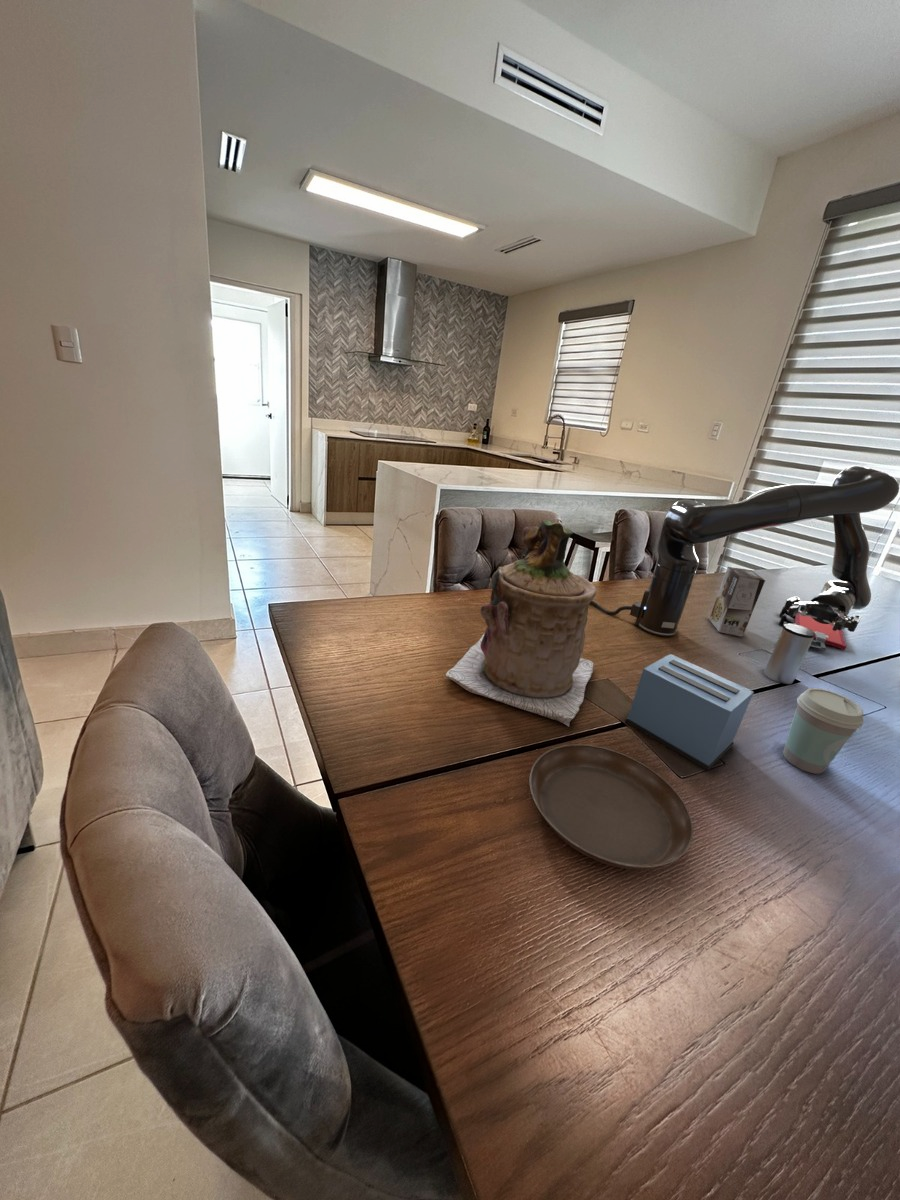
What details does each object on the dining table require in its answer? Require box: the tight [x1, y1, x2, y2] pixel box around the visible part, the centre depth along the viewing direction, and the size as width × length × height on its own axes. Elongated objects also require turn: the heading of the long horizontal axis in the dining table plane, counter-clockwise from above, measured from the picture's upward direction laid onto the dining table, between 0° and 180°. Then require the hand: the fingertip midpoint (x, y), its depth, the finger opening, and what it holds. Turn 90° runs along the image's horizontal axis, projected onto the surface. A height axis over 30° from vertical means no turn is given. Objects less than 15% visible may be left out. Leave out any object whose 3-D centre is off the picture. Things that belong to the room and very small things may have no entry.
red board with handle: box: [778, 606, 848, 651], centre depth 132 cm, size 30×3×15 cm
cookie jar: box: [445, 519, 598, 727], centre depth 87 cm, size 25×25×32 cm
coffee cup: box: [782, 687, 864, 775], centre depth 76 cm, size 9×9×12 cm
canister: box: [763, 623, 816, 685], centre depth 103 cm, size 6×6×12 cm
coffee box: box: [708, 566, 766, 637], centre depth 126 cm, size 9×6×16 cm
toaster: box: [624, 653, 755, 772], centre depth 80 cm, size 14×11×11 cm
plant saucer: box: [529, 743, 694, 870], centre depth 62 cm, size 21×21×3 cm
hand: (813, 619), depth 108 cm, fingers open, 8 cm apart
